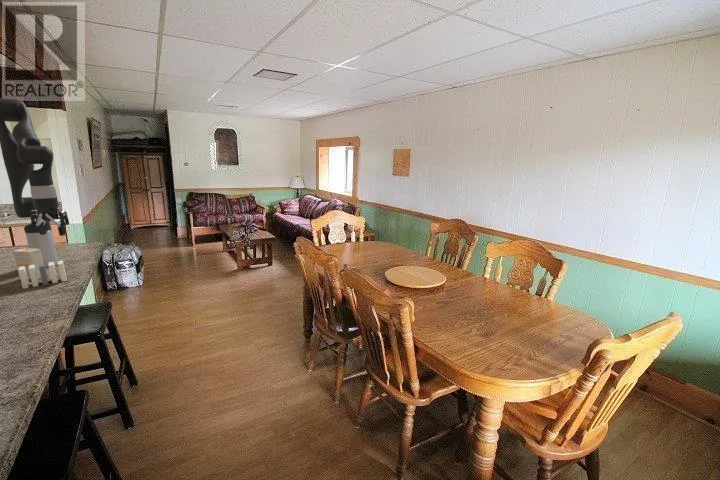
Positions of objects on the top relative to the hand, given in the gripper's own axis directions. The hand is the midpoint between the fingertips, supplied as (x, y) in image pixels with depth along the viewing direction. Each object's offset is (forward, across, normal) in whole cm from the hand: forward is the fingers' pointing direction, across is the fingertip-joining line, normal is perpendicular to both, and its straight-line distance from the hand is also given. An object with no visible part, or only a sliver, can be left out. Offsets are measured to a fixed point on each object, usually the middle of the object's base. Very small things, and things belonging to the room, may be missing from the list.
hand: (53, 234), depth 141 cm
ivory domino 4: (+20, 0, 0) cm, 20 cm away
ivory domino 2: (+20, -6, -6) cm, 22 cm away
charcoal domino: (+20, -4, -4) cm, 21 cm away
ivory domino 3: (+20, -2, -2) cm, 20 cm away
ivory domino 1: (+20, -8, -8) cm, 23 cm away
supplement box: (+20, -14, 0) cm, 25 cm away
